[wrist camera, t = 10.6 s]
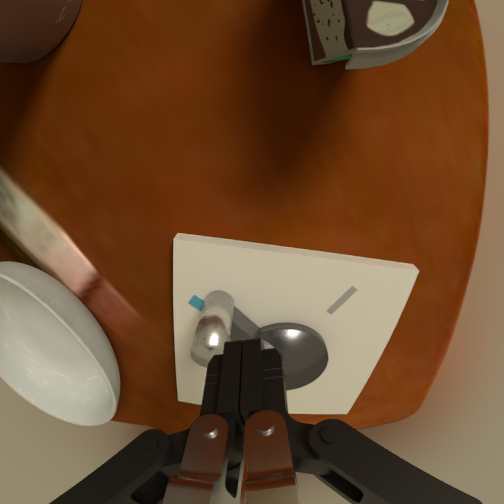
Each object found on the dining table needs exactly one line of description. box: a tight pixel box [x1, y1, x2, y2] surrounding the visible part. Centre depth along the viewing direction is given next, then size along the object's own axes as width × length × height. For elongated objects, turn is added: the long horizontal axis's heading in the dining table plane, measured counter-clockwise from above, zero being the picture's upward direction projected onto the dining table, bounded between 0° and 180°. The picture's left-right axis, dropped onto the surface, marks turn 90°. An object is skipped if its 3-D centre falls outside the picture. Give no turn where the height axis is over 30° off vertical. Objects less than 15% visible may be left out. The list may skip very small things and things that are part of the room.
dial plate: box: [173, 233, 419, 414], centre depth 27 cm, size 20×20×1 cm
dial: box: [190, 290, 328, 391], centre depth 23 cm, size 13×8×6 cm, turn 43°
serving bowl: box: [0, 262, 120, 426], centre depth 25 cm, size 21×21×7 cm
